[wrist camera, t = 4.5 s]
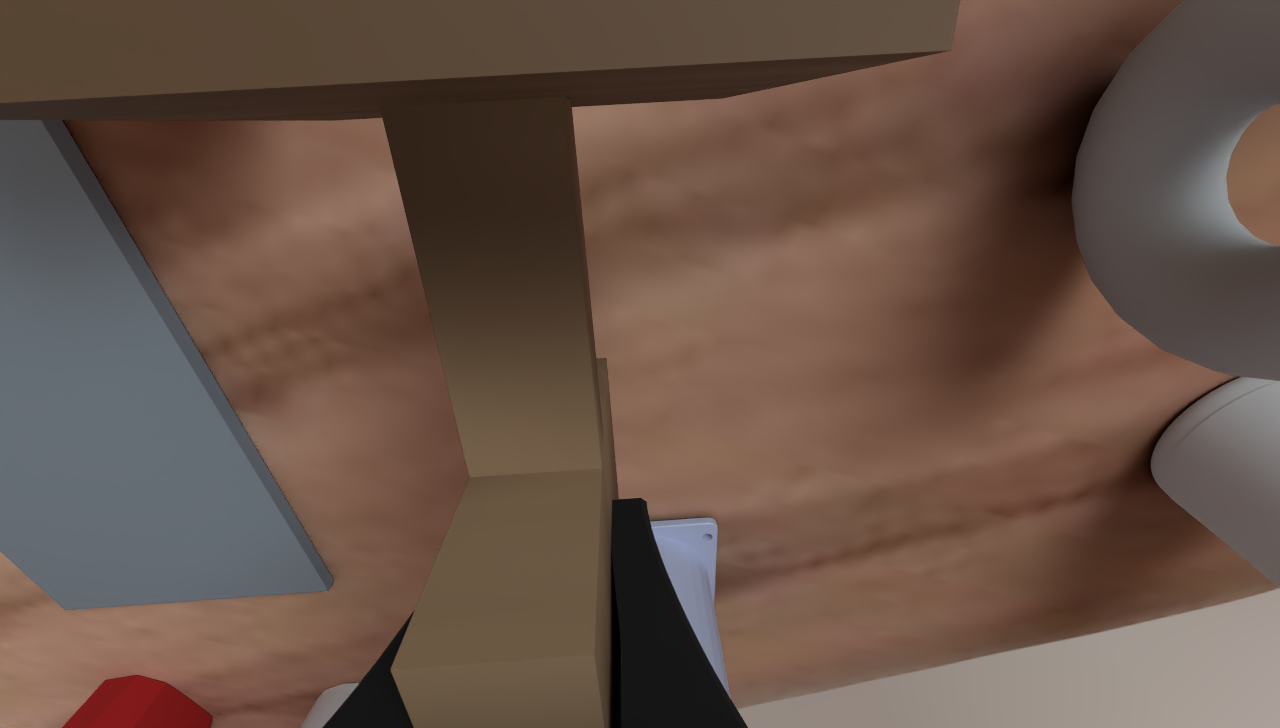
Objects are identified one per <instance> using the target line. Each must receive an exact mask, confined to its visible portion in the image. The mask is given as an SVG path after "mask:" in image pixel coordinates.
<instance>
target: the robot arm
mask: <svg viewBox="0 0 1280 728" xmlns="http://www.w3.org/2000/svg"><path fill="white" fill-rule="evenodd" d="M717 531H718V528H717V524H716V521H715V520H714V519H712V518H693V519H679V520H665V521H651V522H650V519H649V515H648V510H647V503H646V501H644V500H643V499H642V498H633V499H619V500H612V521H611V552H612V562H613V571H614V581H615V590H616V600H617V609H618V619H619V628H620V640H621V657H622V728H748V727H747V725H746V724H745V722H744V720H743V719H742V717H741V716H740V714H739V712H738V710H737V709H736V707H735V705H734V704H733V702H732V700H731V698H730V692H729V687H728V681H727V676H726V670H725V665H724V659H723V654H722V648H721V643H720V637H719V632H718V626H717V621H716V615H715V610H714V594H715V573H716V552H717ZM414 611H415V610H414ZM414 611H413V613H414ZM413 613H412V614H411V616H410V617H409V619H408V620H407V621H406V623H405V624H404V625H403V627H402V628H401V629H400V631H399V632H398V633H397V635H396V636H395V637H394V639H393V640H392V641H391V643H390V644H389V645H388V647H387V648H386V650H385V651H384V652H383V654H382V655H381V656H380V658H379V659H378V660H377V662H376V663H375V664H374V665H373V667H372V668H371V669H370V671H369V672H368V673H367V674H366V676H365V677H364V678H363V679H362V681H361V682H360V683H359V684H358V686H357V687H356V688H355V689H354V691H353V692H352V693H351V694H350V695H349V697H348V698H347V699H346V700H345V701H344V703H343V704H342V705H341V706H340V707H339V709H338V710H337V711H336V712H335V713H334V715H333V716H332V717H331V718H330V719H329V720H328V722H327V723H326V724H325V725H324V726H323V727H322V728H414V727H413V724H412V722H411V719H410V717H409V715H408V712H407V710H406V707H405V705H404V702H403V700H402V697H401V695H400V692H399V690H398V687H397V685H396V682H395V680H394V678H393V675H392V673H391V670H390V669H391V667H392V665H393V662H394V660H395V657H396V655H397V652H398V650H399V648H400V645H401V643H402V640H403V638H404V635H405V633H406V630H407V628H408V626H409V623H410V621H411V618H412V616H413Z"/></svg>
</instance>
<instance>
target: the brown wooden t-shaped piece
mask: <svg viewBox="0 0 1280 728" xmlns="http://www.w3.org/2000/svg"><path fill="white" fill-rule="evenodd" d="M959 4H960V0H0V120H350V119H367V118H383V122H384V126H385V130H386V134H387V138H388V142H389V147H390V151H391V155H392V159H393V163H394V167H395V171H396V176H397V180H398V184H399V188H400V192H401V196H402V200H403V205H404V209H405V213H406V217H407V221H408V225H409V229H410V234H411V238H412V242H413V246H414V250H415V254H416V258H417V263H418V267H419V271H420V275H421V279H422V283H423V287H424V291H425V296H426V300H427V304H428V308H429V312H430V316H431V320H432V325H433V329H434V333H435V337H436V341H437V345H438V349H439V354H440V358H441V362H442V366H443V370H444V374H445V378H446V383H447V387H448V391H449V395H450V399H451V403H452V407H453V412H454V416H455V420H456V424H457V428H458V432H459V436H460V440H461V445H462V449H463V453H464V457H465V461H466V465H467V469H468V474H469V480H468V482H467V485H466V487H465V489H464V492H463V494H462V497H461V499H460V502H459V504H458V506H457V509H456V511H455V514H454V516H453V519H452V521H451V523H450V526H449V528H448V531H447V533H446V536H445V538H444V540H443V543H442V545H441V548H440V550H439V553H438V555H437V558H436V560H435V562H434V565H433V567H432V570H431V572H430V575H429V577H428V579H427V582H426V584H425V587H424V589H423V592H422V594H421V596H420V599H419V601H418V604H417V606H416V609H415V611H414V613H413V616H412V618H411V621H410V623H409V626H408V628H407V630H406V633H405V635H404V638H403V640H402V643H401V645H400V648H399V650H398V652H397V655H396V657H395V660H394V662H393V665H392V667H391V669H390V670H391V673H392V675H393V678H394V680H395V682H396V685H397V687H398V690H399V692H400V695H401V697H402V700H403V702H404V705H405V707H406V710H407V712H408V715H409V717H410V719H411V722H412V724H413V727H414V728H622V657H621V640H620V628H619V619H618V609H617V600H616V590H615V581H614V571H613V562H612V552H611V521H612V500H619V496H618V485H617V473H616V462H615V451H614V439H613V428H612V417H611V405H610V394H609V382H608V371H607V360H606V358H599V359H596V352H595V341H594V331H593V321H592V311H591V300H590V290H589V280H588V270H587V259H586V249H585V239H584V229H583V218H582V208H581V198H580V187H579V177H578V167H577V157H576V146H575V136H574V126H573V116H572V107H579V106H597V105H615V104H632V103H650V102H668V101H686V100H703V99H721V98H727V97H732V96H736V95H741V94H746V93H751V92H755V91H760V90H765V89H770V88H774V87H779V86H784V85H789V84H794V83H798V82H803V81H808V80H813V79H817V78H822V77H827V76H832V75H836V74H841V73H846V72H851V71H855V70H860V69H865V68H870V67H874V66H879V65H884V64H889V63H894V62H898V61H903V60H908V59H913V58H917V57H922V56H927V55H932V54H936V53H941V52H946V51H951V49H952V43H953V38H954V32H955V27H956V21H957V15H958V10H959Z"/></svg>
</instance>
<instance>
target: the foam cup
mask: <svg viewBox="0 0 1280 728" xmlns="http://www.w3.org/2000/svg"><path fill="white" fill-rule="evenodd" d="M358 684H359V683H347V684H341V685H338V686H335V687H332V688H329V689H326V690H325V691H324V692H323V693H322V694H321V695H320V696H319V697H318V698H317V699H316V701H315V704H314V706H313V707H312V708H311V709H310V711H309V712H308V714H307V716H306V717H305V719H304V721H303V723H302V724H301V726H300V728H322V727H323V726H324V725H325V724H326V723H327V722H328V720H329V719H330V718H331V717H332V716H333V715H334V713H335V712H336V711H337V710H338V709H339V707H340V706H341V705H342V704H343V703H344V701H345V700H346V699H347V698H348V697H349V695H350V694H351V693H352V692H353V691H354V689H355V688H356V687H357V686H358Z"/></svg>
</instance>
